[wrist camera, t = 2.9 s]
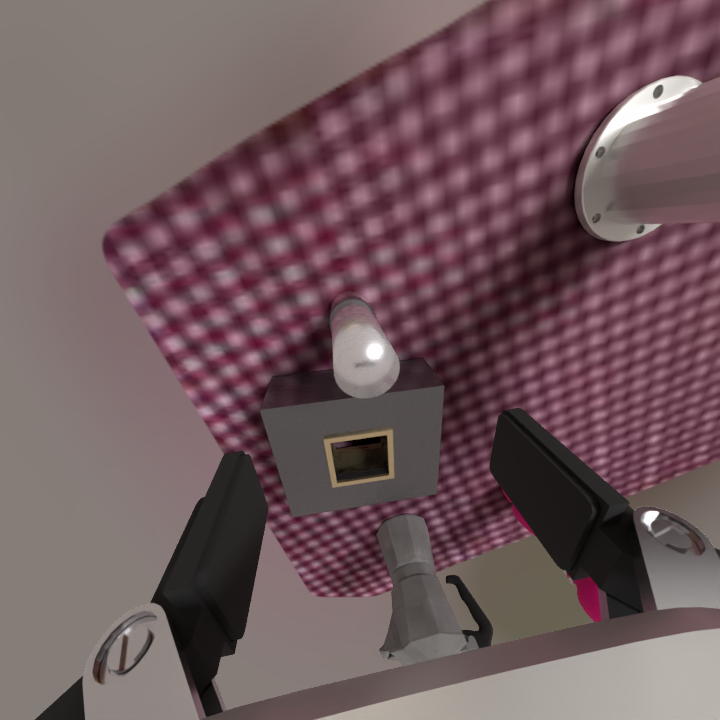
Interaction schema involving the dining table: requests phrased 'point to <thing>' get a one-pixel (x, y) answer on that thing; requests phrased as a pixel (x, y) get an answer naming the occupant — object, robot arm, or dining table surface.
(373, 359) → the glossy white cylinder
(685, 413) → the dining table surface
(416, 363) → the grey square socket block
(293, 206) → the dining table surface
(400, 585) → the coffeepot
